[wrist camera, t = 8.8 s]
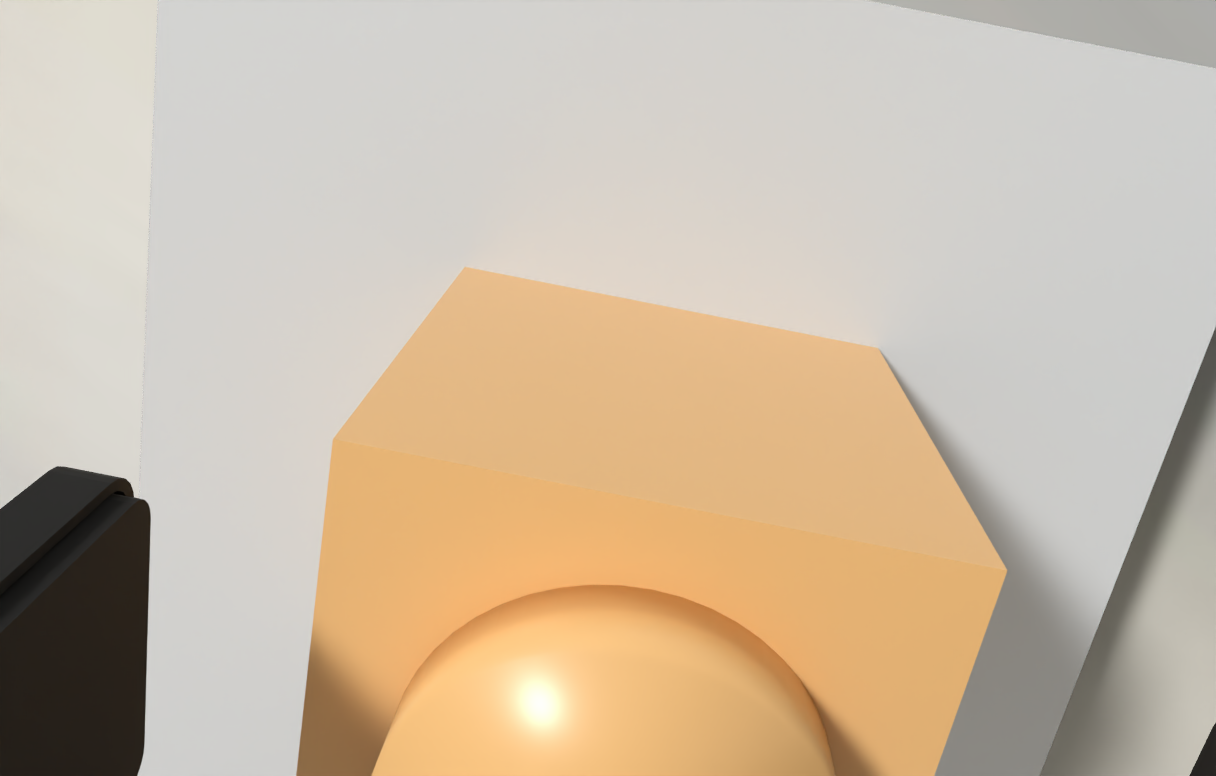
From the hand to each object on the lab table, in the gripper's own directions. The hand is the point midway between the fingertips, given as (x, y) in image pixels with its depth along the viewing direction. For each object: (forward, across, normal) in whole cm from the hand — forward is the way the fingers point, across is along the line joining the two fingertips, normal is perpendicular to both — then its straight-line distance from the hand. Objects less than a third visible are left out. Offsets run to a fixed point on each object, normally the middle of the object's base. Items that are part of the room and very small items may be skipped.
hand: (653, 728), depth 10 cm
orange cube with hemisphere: (+6, 0, +1) cm, 6 cm away
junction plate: (+8, 0, +1) cm, 8 cm away
